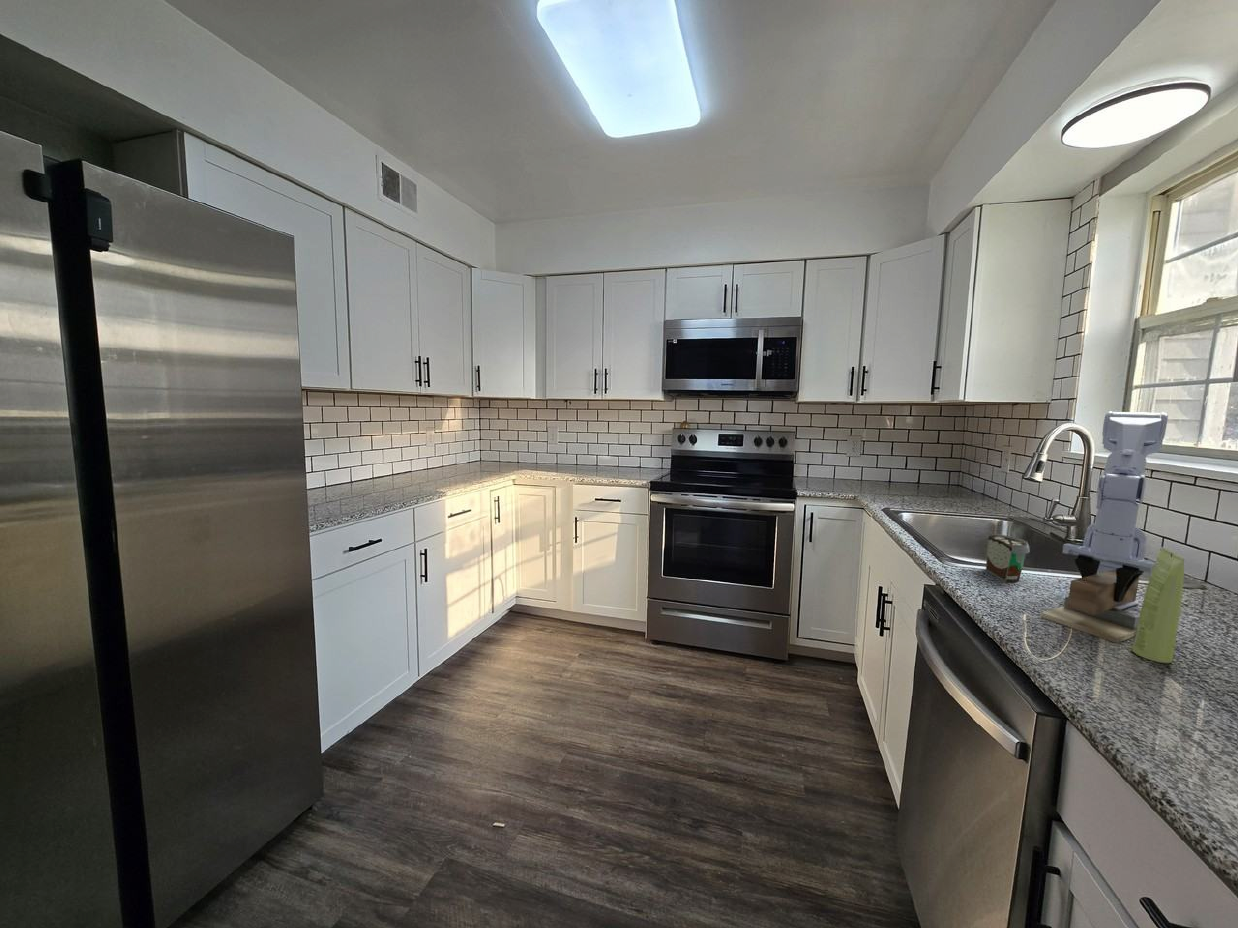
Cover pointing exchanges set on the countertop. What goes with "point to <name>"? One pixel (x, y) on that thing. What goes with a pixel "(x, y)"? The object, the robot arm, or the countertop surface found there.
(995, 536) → the food container
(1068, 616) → the balance stand
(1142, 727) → the countertop surface
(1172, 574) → the tube
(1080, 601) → the walnut bar
